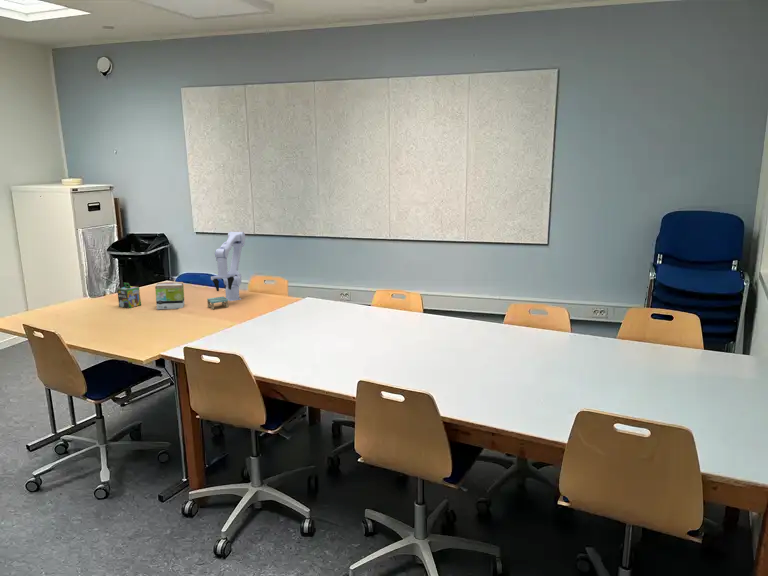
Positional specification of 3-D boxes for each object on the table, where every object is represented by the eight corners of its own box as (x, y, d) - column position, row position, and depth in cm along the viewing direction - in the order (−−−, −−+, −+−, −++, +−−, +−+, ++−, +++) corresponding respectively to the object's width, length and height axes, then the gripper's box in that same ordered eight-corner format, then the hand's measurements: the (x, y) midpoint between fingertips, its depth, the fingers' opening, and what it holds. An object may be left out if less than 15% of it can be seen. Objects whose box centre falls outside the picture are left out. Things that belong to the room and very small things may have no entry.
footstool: (207, 306, 339) (207, 298, 337) (223, 304, 345) (223, 296, 343) (212, 309, 333) (211, 301, 332) (228, 307, 339) (227, 299, 338)
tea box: (156, 310, 334) (154, 285, 331) (159, 306, 343) (157, 282, 340) (183, 308, 337) (181, 284, 334) (185, 304, 347) (183, 281, 344)
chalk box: (141, 305, 345) (139, 281, 342) (128, 308, 337) (126, 284, 334) (131, 303, 349) (128, 280, 346) (118, 306, 341) (115, 283, 338)
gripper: (213, 270, 334) (214, 292, 337) (236, 268, 342) (237, 289, 345) (208, 268, 339) (210, 290, 342) (231, 266, 348) (233, 287, 351)
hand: (223, 290), depth 344 cm, fingers open, 7 cm apart
